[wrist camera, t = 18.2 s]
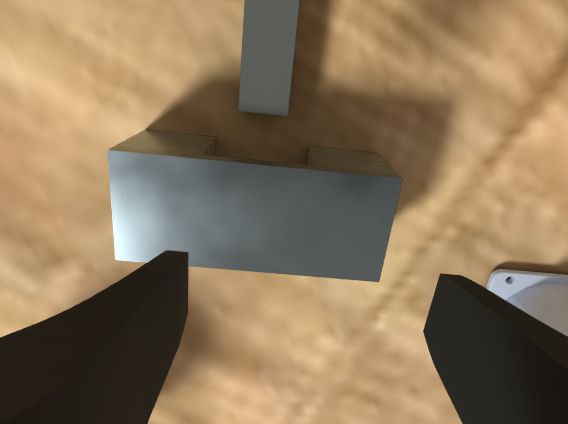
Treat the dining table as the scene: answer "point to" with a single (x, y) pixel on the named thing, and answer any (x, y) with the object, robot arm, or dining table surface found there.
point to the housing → (252, 207)
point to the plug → (267, 55)
